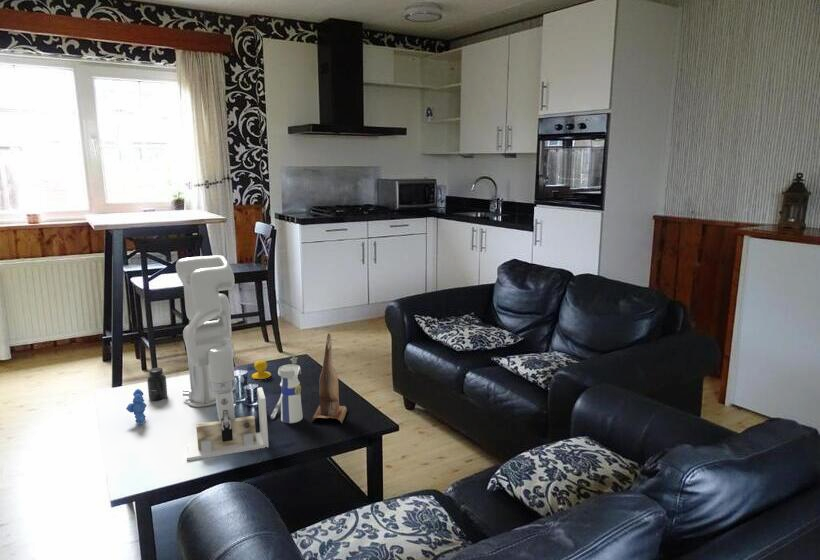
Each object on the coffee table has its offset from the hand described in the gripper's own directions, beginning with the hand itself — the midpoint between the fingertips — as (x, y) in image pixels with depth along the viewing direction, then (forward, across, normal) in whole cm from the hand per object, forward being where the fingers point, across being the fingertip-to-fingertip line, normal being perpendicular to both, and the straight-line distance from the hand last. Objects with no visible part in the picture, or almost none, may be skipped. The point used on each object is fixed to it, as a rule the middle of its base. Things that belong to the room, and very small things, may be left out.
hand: (226, 434), depth 191 cm
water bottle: (+5, +14, -23) cm, 28 cm away
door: (+4, 0, 0) cm, 4 cm away
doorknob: (+5, +62, -17) cm, 64 cm away
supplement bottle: (+5, +53, +24) cm, 58 cm away
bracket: (+5, +26, -21) cm, 34 cm away
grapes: (+5, +31, +29) cm, 43 cm away
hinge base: (+4, 0, 0) cm, 4 cm away
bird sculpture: (+5, +10, -36) cm, 38 cm away
